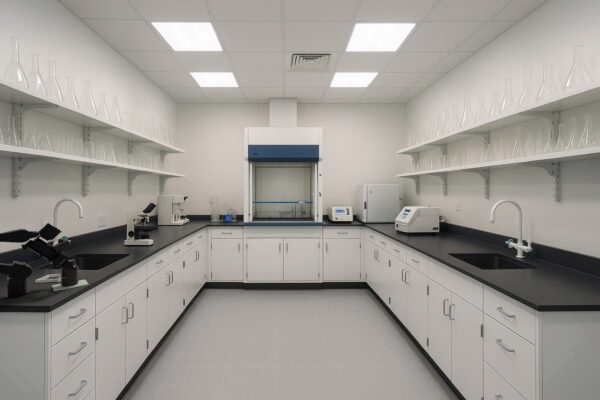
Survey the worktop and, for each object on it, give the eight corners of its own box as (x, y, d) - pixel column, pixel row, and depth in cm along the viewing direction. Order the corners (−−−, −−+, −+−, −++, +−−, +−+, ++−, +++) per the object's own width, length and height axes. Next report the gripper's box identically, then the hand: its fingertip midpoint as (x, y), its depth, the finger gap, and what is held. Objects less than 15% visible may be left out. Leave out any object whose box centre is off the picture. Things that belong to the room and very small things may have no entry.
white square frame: (58, 281, 148) (58, 278, 148) (35, 283, 146) (35, 280, 146) (70, 276, 158) (70, 273, 158) (49, 277, 156) (49, 274, 156)
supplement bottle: (58, 287, 137) (57, 262, 136) (63, 283, 143) (63, 259, 143) (76, 285, 140) (75, 261, 139) (80, 281, 146) (79, 258, 146)
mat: (54, 291, 133) (54, 290, 133) (52, 286, 141) (52, 285, 140) (88, 284, 143) (88, 283, 143) (84, 280, 150) (84, 279, 150)
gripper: (60, 237, 131) (90, 257, 140) (55, 233, 144) (83, 251, 153) (38, 257, 126) (70, 276, 134) (34, 251, 139) (64, 269, 147)
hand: (73, 267), depth 142 cm, fingers open, 9 cm apart
